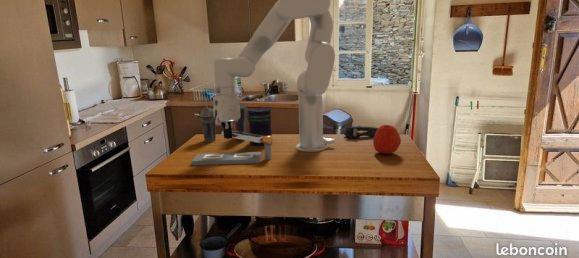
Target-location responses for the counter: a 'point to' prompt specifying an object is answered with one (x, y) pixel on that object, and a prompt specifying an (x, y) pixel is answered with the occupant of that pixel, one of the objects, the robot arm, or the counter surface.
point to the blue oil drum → (259, 123)
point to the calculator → (242, 121)
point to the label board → (231, 157)
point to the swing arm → (251, 137)
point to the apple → (386, 139)
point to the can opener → (353, 131)
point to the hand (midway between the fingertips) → (228, 138)
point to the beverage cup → (208, 123)
